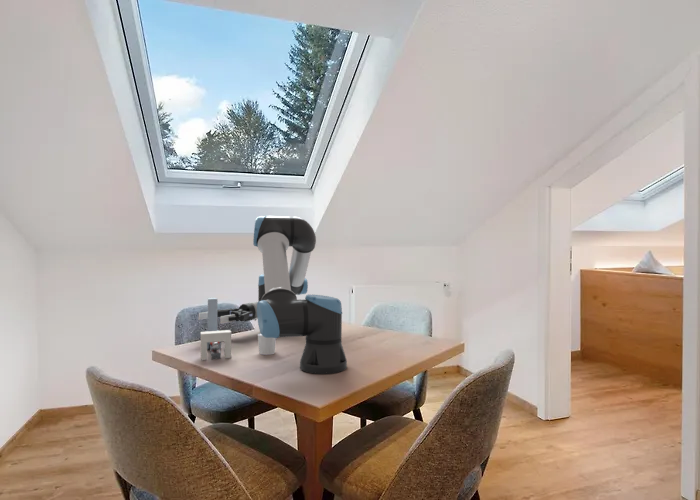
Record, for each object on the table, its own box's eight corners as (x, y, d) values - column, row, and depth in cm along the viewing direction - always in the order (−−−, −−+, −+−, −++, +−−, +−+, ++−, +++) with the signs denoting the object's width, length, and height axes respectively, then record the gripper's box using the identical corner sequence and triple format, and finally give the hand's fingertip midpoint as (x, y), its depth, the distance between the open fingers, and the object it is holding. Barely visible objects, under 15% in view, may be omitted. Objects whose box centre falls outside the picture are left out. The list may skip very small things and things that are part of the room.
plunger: (221, 351, 151) (221, 342, 151) (211, 352, 150) (211, 343, 150) (219, 346, 159) (219, 337, 159) (210, 346, 158) (210, 338, 158)
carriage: (220, 348, 165) (221, 301, 165) (206, 349, 163) (206, 301, 163) (219, 342, 176) (219, 297, 175) (205, 343, 174) (205, 298, 173)
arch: (231, 357, 152) (231, 332, 152) (200, 360, 149) (201, 334, 148) (230, 355, 156) (230, 330, 156) (200, 357, 152) (200, 331, 152)
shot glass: (253, 352, 159) (253, 333, 159) (269, 349, 164) (269, 331, 164) (264, 356, 155) (264, 336, 154) (280, 352, 159) (280, 333, 159)
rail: (220, 358, 151) (220, 352, 151) (211, 359, 150) (211, 353, 150) (216, 343, 173) (216, 338, 173) (208, 344, 172) (208, 339, 172)
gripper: (271, 323, 182) (230, 331, 165) (231, 317, 197) (190, 324, 179) (271, 305, 182) (230, 311, 165) (231, 300, 196) (190, 306, 179)
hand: (209, 318), depth 172 cm, fingers open, 13 cm apart
